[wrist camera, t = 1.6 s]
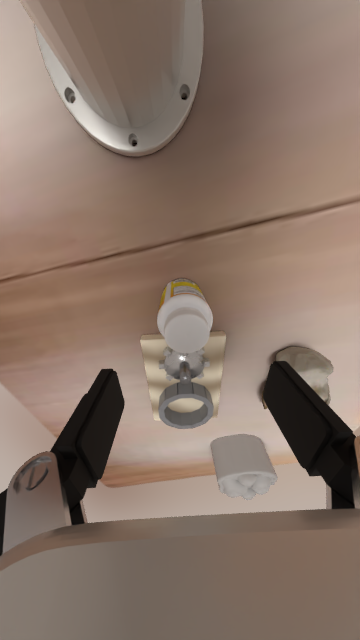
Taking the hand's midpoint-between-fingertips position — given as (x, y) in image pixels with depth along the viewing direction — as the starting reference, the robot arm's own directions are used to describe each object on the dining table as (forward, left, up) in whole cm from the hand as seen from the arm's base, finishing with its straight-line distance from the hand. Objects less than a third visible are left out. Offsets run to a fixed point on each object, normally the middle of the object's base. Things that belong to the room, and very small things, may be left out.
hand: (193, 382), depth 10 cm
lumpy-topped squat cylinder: (+40, +13, -15) cm, 45 cm away
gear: (+10, 0, -13) cm, 17 cm away
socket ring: (+19, 0, -13) cm, 23 cm away
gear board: (+15, 0, -15) cm, 21 cm away
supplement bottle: (-1, 0, -15) cm, 15 cm away
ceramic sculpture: (+15, +19, -15) cm, 28 cm away
